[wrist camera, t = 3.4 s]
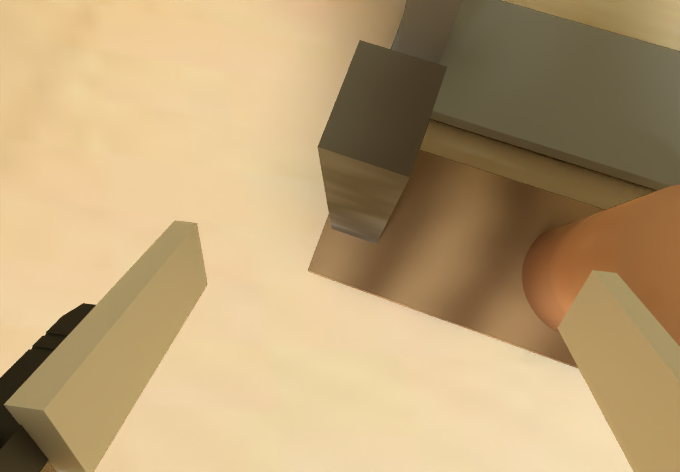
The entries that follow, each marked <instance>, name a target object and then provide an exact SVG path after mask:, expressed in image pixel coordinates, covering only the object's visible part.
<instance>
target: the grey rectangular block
mask: <svg viewBox="0 0 680 472" xmlns="http://www.w3.org/2000/svg"><path fill="white" fill-rule="evenodd" d="M391 50H394V51H397V52H400V53H404V54H407V55H410V56H413V57H417V58H420V59H423V60H427V61H430V62H433V63H437V64H440V65H443V66H446V67H447V69H446V72H445V75H444V78H443V81H442V84H441V87H440V90H439V93H438V96H437V99H436V102H435V105H434V108H433V111H432V114H431V117H430V119H433V120H436V121H439V122H442V123H445V124H448V125H452V126H455V127H458V128H461V129H464V130H468V131H471V132H474V133H477V134H480V135H483V136H487V137H490V138H493V139H496V140H499V141H502V142H506V143H509V144H512V145H515V146H518V147H521V148H525V149H528V150H531V151H534V152H537V153H540V154H544V155H547V156H550V157H553V158H556V159H559V160H563V161H566V162H569V163H572V164H575V165H578V166H582V167H585V168H588V169H591V170H594V171H597V172H601V173H604V174H607V175H610V176H613V177H616V178H620V179H623V180H626V181H629V182H632V183H635V184H639V185H642V186H645V187H648V188H651V189H654V190H661V189H663V188H666V187H670V186H674V185H679V184H680V51H676V50H673V49H669V48H666V47H662V46H659V45H655V44H652V43H648V42H645V41H641V40H638V39H634V38H631V37H627V36H624V35H620V34H617V33H613V32H610V31H606V30H603V29H599V28H596V27H592V26H589V25H585V24H582V23H578V22H575V21H571V20H568V19H564V18H561V17H557V16H554V15H550V14H547V13H543V12H539V11H536V10H532V9H529V8H525V7H522V6H518V5H515V4H511V3H508V2H504V1H501V0H407V1H406V6H405V11H404V15H403V18H402V21H401V23H400V26H399V29H398V31H397V34H396V37H395V39H394V42H393V45H392V47H391Z"/></svg>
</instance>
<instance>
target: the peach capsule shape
mask: <svg viewBox="0 0 680 472" xmlns="http://www.w3.org/2000/svg"><path fill="white" fill-rule="evenodd" d="M592 270H596V271H605V272H613V273H617V274H618V275H619V276H620V277H621V279H622V280H623V281H624V282H625V283H626V284H627V286H628V287H629V288H630V289H631V290H632V291H633V293H634V294H635V295H636V296H637V297H638V298H639V300H640V301H641V302H642V303H643V304H644V305H645V307H646V308H647V309H648V310H649V311H650V312H651V314H652V315H653V316H654V317H655V318H656V319H657V321H658V322H659V323H660V324H661V325H662V326H663V328H664V329H665V330H666V331H667V332H668V334H669V335H670V336H671V337H672V338H673V339H674V341H675V342H676V343H677V344H678V345H679V346H680V184H679V185H674V186H670V187H666V188H663V189H661V190H658V191H655V192H653V193H650V194H647V195H644V196H642V197H639V198H636V199H634V200H631V201H628V202H625V203H623V204H620V205H617V206H615V207H612V208H609V209H606V210H604V211H601V212H598V213H596V214H593V215H590V216H587V217H585V218H582V219H579V220H577V221H574V222H571V223H568V224H566V225H563V226H560V227H558V228H555V229H552V230H550V231H548V232H546V233H545V234H543V235H542V236H540V237H539V238H538V239H537V240H536V241H535V242H534V243H533V244H532V246H531V247H530V249H529V250H528V252H527V254H526V257H525V260H524V263H523V268H522V284H523V289H524V293H525V295H526V298H527V300H528V302H529V305H530V306H531V308H532V309H533V311H534V313H535V314H536V315H537V316H538V317H539V319H540V320H542V321H543V322H544V323H545V324H546V325H547V326H548V327H550V328H551V329H553V330H554V331H556V332H558V333H560V332H559V330H558V326H559V325H560V323H561V321H562V320H563V318H564V316H565V315H566V313H567V312H568V310H569V308H570V307H571V305H572V303H573V302H574V300H575V298H576V297H577V295H578V293H579V292H580V290H581V288H582V287H583V285H584V283H585V282H586V280H587V278H588V277H589V275H590V274H591V272H592Z"/></svg>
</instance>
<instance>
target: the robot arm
mask: <svg viewBox="0 0 680 472" xmlns="http://www.w3.org/2000/svg"><path fill="white" fill-rule="evenodd" d="M206 286H207V279H206V273H205V267H204V261H203V256H202V250H201V244H200V238H199V232H198V226H197V223H191V222H182V221H174V222H173V223H172V224H171V225H170V226H169V227H168V229H167V230H166V231H165V232H164V233H163V234H162V235H161V236H160V237H159V238H158V239H157V240H156V241H155V243H154V244H153V245H152V246H151V247H150V248H149V249H148V250H147V251H146V252H145V253H144V254H143V255H142V256H141V258H140V259H139V260H138V261H137V262H136V263H135V264H134V265H133V266H132V267H131V268H130V269H129V270H128V272H127V273H126V274H125V275H124V276H123V277H122V278H121V279H120V280H119V281H118V282H117V283H116V284H115V286H114V287H113V288H112V289H111V290H110V291H109V292H108V293H107V294H106V295H105V296H104V297H103V298H102V300H101V301H100V302H99V303H98V304H97V305H92V304H85V303H83V304H82V305H80V306H78V307H77V308H75V309H73V310H72V311H70V312H68V313H67V314H65V315H63V316H62V317H61V318H60V319H59V320H58V321H57V322H56V323H55V324H54V325H53V326H52V327H51V328H50V329H49V330H48V331H47V332H46V335H45V336H42V337H41V338H40V339H39V340H38V341H37V342H36V343H35V344H34V345H33V346H32V349H31V350H28V351H27V352H26V353H25V354H24V355H23V356H22V357H21V358H20V359H19V360H18V361H17V362H16V363H15V364H14V365H13V366H12V367H11V368H10V369H9V370H8V371H7V372H6V373H5V374H4V375H3V376H2V377H1V378H0V472H40V471H41V470H42V468H43V467H44V466H45V464H46V463H47V462H49V463H50V464H51V465H52V467H53V468H54V469H55V470H56V472H94V470H95V469H96V467H97V465H98V464H99V462H100V460H101V459H102V457H103V455H104V454H105V452H106V451H107V449H108V447H109V446H110V444H111V442H112V441H113V439H114V437H115V436H116V434H117V432H118V431H119V429H120V428H121V426H122V424H123V423H124V421H125V419H126V418H127V416H128V414H129V413H130V411H131V409H132V408H133V406H134V405H135V403H136V401H137V400H138V398H139V396H140V395H141V393H142V391H143V390H144V388H145V386H146V385H147V383H148V382H149V380H150V378H151V377H152V375H153V373H154V372H155V370H156V368H157V367H158V365H159V363H160V362H161V360H162V359H163V357H164V355H165V354H166V352H167V350H168V349H169V347H170V345H171V344H172V342H173V340H174V339H175V337H176V335H177V334H178V332H179V331H180V329H181V327H182V326H183V324H184V322H185V321H186V319H187V317H188V316H189V314H190V312H191V311H192V309H193V308H194V306H195V304H196V303H197V301H198V299H199V298H200V296H201V294H202V293H203V291H204V289H205V288H206ZM558 330H559V332H560V334H561V336H562V338H563V340H564V342H565V343H566V345H567V347H568V349H569V351H570V353H571V355H572V357H573V358H574V360H575V362H576V364H577V366H578V368H579V370H580V372H581V374H582V375H583V377H584V379H585V381H586V383H587V385H588V387H589V389H590V390H591V392H592V394H593V396H594V398H595V400H596V402H597V404H598V405H599V407H600V409H601V411H602V413H603V415H604V417H605V419H606V420H607V422H608V424H609V426H610V428H611V430H612V432H613V434H614V436H615V437H616V439H617V441H618V443H619V445H620V447H621V449H622V451H623V452H624V454H625V456H626V458H627V460H628V462H629V464H630V466H631V467H632V469H633V471H634V472H680V346H679V345H678V344H677V343H676V342H675V341H674V339H673V338H672V337H671V336H670V335H669V334H668V332H667V331H666V330H665V329H664V328H663V326H662V325H661V324H660V323H659V322H658V321H657V319H656V318H655V317H654V316H653V315H652V314H651V312H650V311H649V310H648V309H647V308H646V307H645V305H644V304H643V303H642V302H641V301H640V300H639V298H638V297H637V296H636V295H635V294H634V293H633V291H632V290H631V289H630V288H629V287H628V286H627V284H626V283H625V282H624V281H623V280H622V279H621V277H620V276H619V275H618V274H617V273H613V272H605V271H596V270H592V272H591V274H590V275H589V277H588V278H587V280H586V282H585V283H584V285H583V287H582V288H581V290H580V292H579V293H578V295H577V297H576V298H575V300H574V302H573V303H572V305H571V307H570V308H569V310H568V312H567V313H566V315H565V316H564V318H563V320H562V321H561V323H560V325H559V326H558Z"/></svg>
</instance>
